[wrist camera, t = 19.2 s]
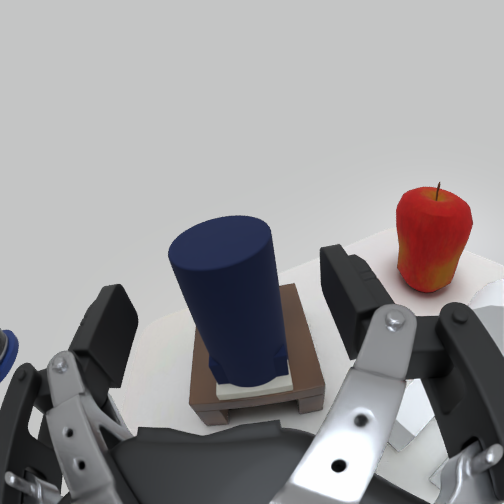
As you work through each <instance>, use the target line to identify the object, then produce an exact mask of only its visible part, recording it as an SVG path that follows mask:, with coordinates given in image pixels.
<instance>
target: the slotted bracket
mask: <svg viewBox="0 0 504 504" xmlns="http://www.w3.org/2000/svg"><path fill="white" fill-rule="evenodd" d="M468 307H470V308H471V309H472V310H473V311H474V312H475V314H476V315H477V316H478V318H479V319H480V321H481V322H482V324H483V325H484V327H485V328H486V330H487V331H488V333H489V334H490V336H491V337H492V339H493V340H494V342H495V343H496V345H497V347H498V348H499V350H500V351H501V353H502V355H503V356H504V279H501V280H498V281H495V282H492V283H488V284H487V285H486V286H485V287H483V288H482V289H481V290H479V291H478V292H477V293H476V294H475V295H474V297H473V298H472V300H471V301H470V303H469V304H468ZM433 416H435V415H434V412H433V410H432V407H431V404H430V402H429V399H428V397H427V394H426V392H425V389H424V387H423V385H422V382H421V380H420V379H414V380H413V381H412V382H411V383H410V384H409V385H408V386H407V387H406V389H405V392H404V395H403V399H402V402H401V405H400V408H399V411H398V414H397V417H396V420H395V423H394V426H393V429H392V431H391V434H390V437H389V439H388V442H389V443H390V444H391V445H392V446H393V447H394V448H395V449H396V450H397V451H398V452H399V451H400V450H402V449H403V448H404V447H405V446H406V445H407V444H408V443H409V442H410V441H411V440H412V439H413V438H414V437H415V436H416V435H417V434H418V433H419V432H420V431H421V430H422V429H423V428H424V427H425V426H426V424H427V423H428V422H429V421H430V420H431V419H432V418H433ZM448 460H449V457H448V458H447V459H446V460H445V462H444V463H443V464H442V465H441V466H440V467H439V469H438V470H437V471H436V472H435V473H434V474H433V475H432V476H431V477H430V478H429V480H430V481H431V482H432V483H434V484H435V485H436V486H437V487H438V488H439V489H441V482H440V477H441V472H442V469H443V467H444V466H445V464H446V463H447V461H448Z"/></svg>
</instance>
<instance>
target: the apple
mask: <svg viewBox="0 0 504 504" xmlns="http://www.w3.org/2000/svg"><path fill="white" fill-rule="evenodd" d="M439 188H440V182H439V184H438V187H437V188H434V187H420V188H416V189H413V190H409V191H407V192H406V193H404V194H403V196H402V198H401V200H400V201H399V203H398V205H397V209H396V227H397V234H398V241H399V254H398V265H397V268H398V269H399V271H400V273H401V275H402V277H403V278H404V280H405V281H406V283H407V284H408V285H409V286H410V287H412V288H414V289H416V290H417V291H421V292H424V293H428V292H434V291H436V290H438V289H440V288H442V287H444V286H446V285H448V284H450V283H451V281H452V279H453V277H454V274H455V271H456V268H457V265H458V261H459V258H460V256H461V254H462V252H463V250H464V247H465V245H466V243H467V241H468V239H469V235H470V232H471V229H472V225H473V220H472V215H471V210H470V207H469V205H468V204H467V203H466V202H465V201H464V200H462V199H461V198H460V197H458V196H457V195H455V194H453V193H451V192H448V191H446V190H442V189H439Z"/></svg>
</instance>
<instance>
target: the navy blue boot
mask: <svg viewBox="0 0 504 504" xmlns="http://www.w3.org/2000/svg"><path fill="white" fill-rule="evenodd" d="M168 257H169V260H170V263H171V265H172V268H173V271H174V274H175V276H176V278H177V281H178V283H179V286H180V289H181V291H182V294H183V296H184V298H185V301H186V303H187V306H188V308H189V310H190V313H191V315H192V317H193V320H194V322H195V324H196V326H197V329H198V331H199V333H200V335H201V338H202V340H203V342H204V344H205V346H206V349H207V351H208V353H209V364H208V366H209V368H210V370H211V372H212V374H213V376H214V378H215V380H216V382H217V386H216V395H217V397H218V398H219V400H228V399H237V398H246V397H254V396H261V395H268V394H274V393H280V392H286V391H292V390H293V384H292V378H291V373H290V368H289V358H288V350H287V342H286V334H285V326H284V319H283V311H282V304H281V296H280V289H279V282H278V275H277V269H276V261H275V255H274V247H273V241H272V234H271V230H270V227H269V226H268V225H267V223H265V222H264V221H262V220H261V219H258V218H255V217H250V216H226V217H220V218H215V219H211V220H208V221H205V222H202V223H200V224H197V225H195V226H193V227H191V228H189V229H188V230H186V231H185V232H183V233H182V234H180V235H179V236H178V237H177V238H176V239H175V240H174V241H173V242H172V244H171V246H170V248H169V251H168Z"/></svg>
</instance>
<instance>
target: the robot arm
mask: <svg viewBox="0 0 504 504" xmlns="http://www.w3.org/2000/svg"><path fill="white" fill-rule="evenodd" d="M320 273H321V287H322V291H323V295H324V297H325V300H326V302H327V304H328V307H329V309H330V312H331V314H332V316H333V319H334V321H335V324H336V326H337V329H338V331H339V333H340V336H341V338H342V341H343V343H344V346H345V349H346V351H347V354H348V356H349V359H350V360H354V359H356V362H355V364H354V366H353V367H351V368H350V369H349V371H348V373H347V375H346V377H345V380H344V382H343V384H342V386H341V388H340V390H339V392H338V394H337V396H336V398H335V400H334V402H333V404H332V406H331V408H330V410H329V412H328V414H327V416H326V418H325V420H324V422H323V424H322V425H321V427H320V429H319V431H318V433H317V434H316V435H314V434H311V433H309V432H305V431H302V430H297V429H291V428H281V424H280V420H273V421H267V422H260V423H252V424H243V425H239V426H236V427H233V428H230V429H227V430H223V431H220V432H217V433H213V434H210V435H205V436H201V435H196V434H191V433H187V432H182V431H178V430H174V429H171V428H152V427H138V432H137V436H135V437H134V436H133V435H132V434H131V432H130V431H129V430H128V428H127V426H126V424H125V423H124V421H123V419H122V417H121V415H120V413H119V411H118V409H117V407H116V405H115V403H114V401H113V399H112V397H111V396H110V394H109V393H108V390H109V388H120V387H121V384H122V380H123V376H124V372H125V368H126V365H127V361H128V357H129V354H130V350H131V347H132V343H133V340H134V337H135V333H136V330H137V327H138V315H137V312H136V310H135V308H134V306H133V304H132V303H131V301H130V299H129V297H128V295H127V293H126V292H125V289H124V288H123V286H122V285H121V284H115V285H109V286H104V287H103V288H102V289H101V291H100V293H99V295H98V297H97V299H96V300H95V301H94V302H93V303H92V304H91V305H90V307H89V308H88V310H87V311H86V313H85V315H84V319H82V321H81V323H80V326H79V327H78V330H77V332H76V334H75V336H74V338H73V340H72V342H71V345H70V347H69V349H68V351H62V352H59V353H57V354H56V355H55V356H54V357H53V358H52V359H51V360H50V362H49V364H48V366H47V368H46V369H43V370H40V371H37V370H36V369H35V368H34V367H33V366H32V365H31V364H30V363H24V364H22V365H21V366H19V367H18V368H17V370H16V371H15V373H14V375H13V377H12V379H11V382H10V384H9V387H8V390H7V392H6V395H5V398H4V401H3V403H2V406H1V410H0V504H430V503H428V502H426V501H424V500H422V499H420V498H418V497H416V496H414V495H412V494H410V493H409V492H407V491H405V490H403V489H401V488H399V487H398V486H396V485H394V484H392V483H391V482H389V481H387V480H385V479H384V478H382V477H380V476H379V475H377V474H375V473H374V472H375V470H376V468H377V466H378V463H379V461H380V459H381V457H382V454H383V452H384V449H385V447H386V444H387V442H388V439H389V437H390V434H391V431H392V429H393V426H394V423H395V420H396V417H397V414H398V411H399V408H400V405H401V402H402V399H403V395H404V392H405V388H406V379H420V380H421V382H422V385H423V387H424V389H425V392H426V394H427V397H428V399H429V402H430V404H431V407H432V410H433V412H434V415H435V418H436V420H437V423H438V426H439V429H440V432H441V435H442V438H443V441H444V444H445V447H446V450H447V453H448V457H449V460H448V461H447V463H446V464H445V466H444V467H443V469H442V472H441V477H440V482H441V489H440V493H439V496H438V498H437V499H436V501H435V502H434V503H433V504H502V503H504V356H503V355H502V353H501V351H500V350H499V348H498V347H497V345H496V343H495V342H494V340H493V339H492V337H491V336H490V334H489V333H488V331H487V330H486V328H485V327H484V325H483V324H482V322H481V321H480V319H479V318H478V316H477V315H476V314H475V312H474V311H473V310H472V309H471V308H470V307H468V306H467V305H465V304H462V303H458V302H452V303H448V304H446V305H445V306H444V307H443V308H442V309H441V312H440V315H439V316H415V315H414V313H413V312H412V311H411V310H410V309H408V308H407V307H405V306H402V305H398V304H395V303H394V301H393V300H392V298H391V297H390V295H389V294H388V292H387V291H386V289H385V288H384V287H383V285H382V284H381V282H380V281H379V279H378V278H376V275H375V274H374V272H373V271H372V270H371V268H370V267H369V265H368V264H367V262H366V261H365V260H363V259H362V258H360V257H358V256H357V255H355V254H354V255H349V256H348V255H347V253H346V252H345V251H344V249H343V248H342V246H341V245H340V244H337V245H332V246H327V247H321V248H320ZM8 347H9V339H8V337H7V336H6V334H5V333H4V332H3V331H2V330H1V329H0V365H1V363H2V361H3V360H4V358H5V356H6V354H7V351H8ZM33 406H35V407H36V408H37V409H38V410H39V411H40V412H42V413H43V414H44V415H43V419H42V422H41V426H40V431H39V435H38V439H35V438H34V437H32V436H31V435H30V433H29V431H28V422H29V419H30V415H31V412H32V408H33ZM62 475H63V476H64V479H65V482H66V484H67V487H68V489H69V492H68V493H67V494H66V495H65V496H64V497H63V496H61V485H62Z"/></svg>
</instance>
